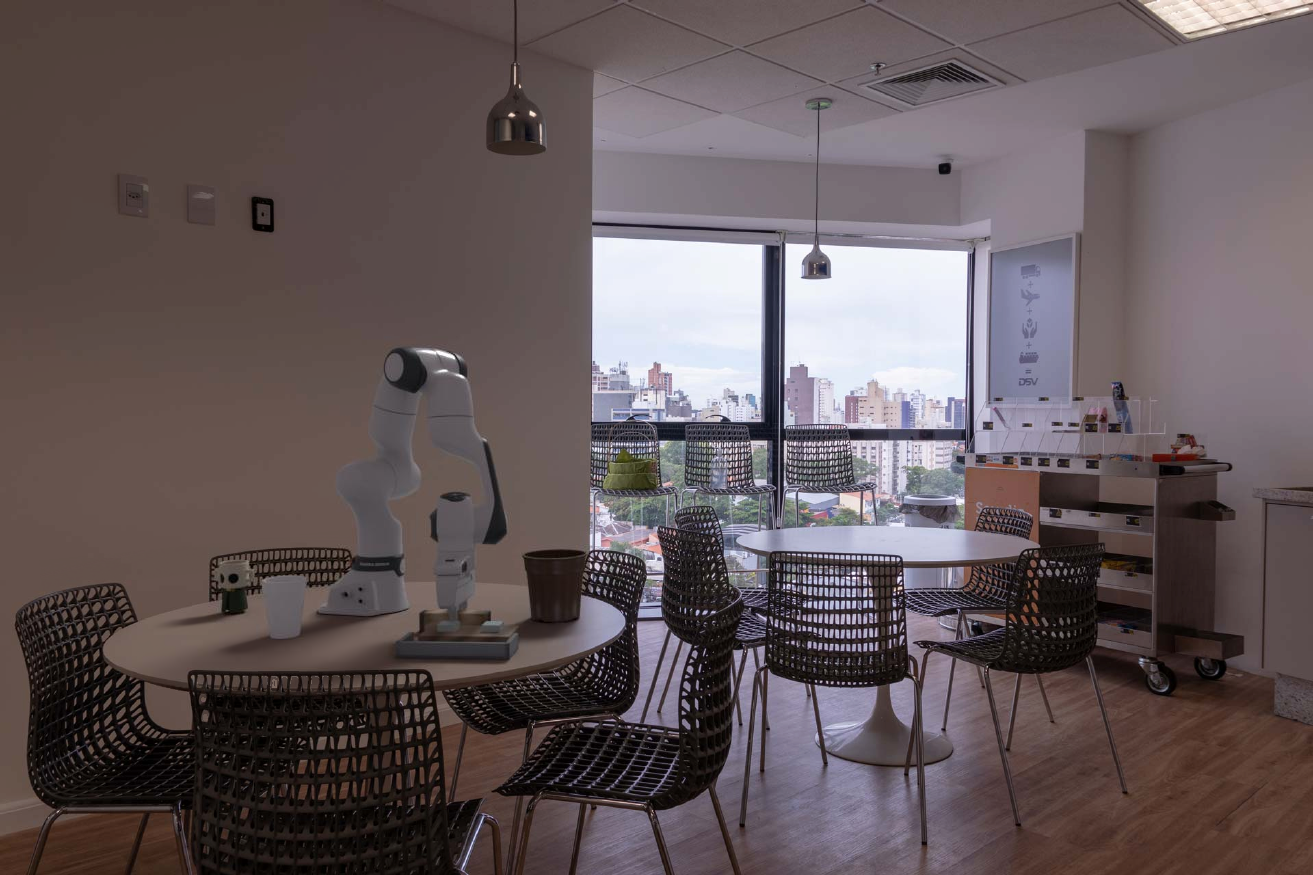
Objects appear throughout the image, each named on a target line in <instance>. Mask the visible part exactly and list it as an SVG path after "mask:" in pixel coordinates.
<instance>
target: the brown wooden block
mask: <svg viewBox="0 0 1313 875" xmlns="http://www.w3.org/2000/svg"><path fill="white" fill-rule="evenodd" d="M457 613H458V616H459V621H460V625H471V626H482V625H483V624H484V623H485V622H486V621H492V611H491V610H476V609H475V610H468V609H467V610H457ZM418 614H419V616H418V619H419V620H418V622H419V625H418V626H419V628H418V629H419V630H418V631H419V633H423V632H424V631H425V630H426V629H428V628H429V627H430V626H432V625H438V624H439V623H440V622H441V621H449V615H448V612H447V609H423V610H421V611H420V612H419V613H418Z"/></svg>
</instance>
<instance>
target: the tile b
mask: <svg viewBox="0 0 1313 875" xmlns="http://www.w3.org/2000/svg"><path fill="white" fill-rule="evenodd" d="M504 622H505V621H504V620H499V621H498V620H491V621H486V622H485V623H484V624H483V625H482V632H500V631H501V630H502V629H503V628H504V626H505V623H504Z"/></svg>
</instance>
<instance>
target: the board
mask: <svg viewBox="0 0 1313 875" xmlns="http://www.w3.org/2000/svg"><path fill="white" fill-rule="evenodd" d="M519 628H520V627H519V625H504V628H503V629H502V630H501V631H500V632H482V626H471V625H460V628H459V629H458V630H457V631H455V632H437V625H432V626H430V627H429V628H428V629H426V630H425V631H424V632H423V633H422V632H420V634H419V635H418V641H425V642H507V640H508V639H509V638H510V637H511V636H512V635H513V634H514V633H518V638H520V634H519V632H520V630H519Z"/></svg>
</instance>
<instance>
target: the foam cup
mask: <svg viewBox="0 0 1313 875" xmlns="http://www.w3.org/2000/svg"><path fill="white" fill-rule="evenodd" d="M307 587H308V585H307V576H304V575H279V576H278V575H277V576H271V577H267V578H263V579H262V580H261V591H262V593H263V599H264V605H265V612H266V613H265V614H266V619H267V625H268V631H269V632H268V633H269V637H270V638H271V639H276V640H281V639H283V640H284V639H293V638H296V637H299V636H300V634H301V628H302V620H303V613H304V606H305V605H304V604H305V596H306V589H307Z"/></svg>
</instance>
